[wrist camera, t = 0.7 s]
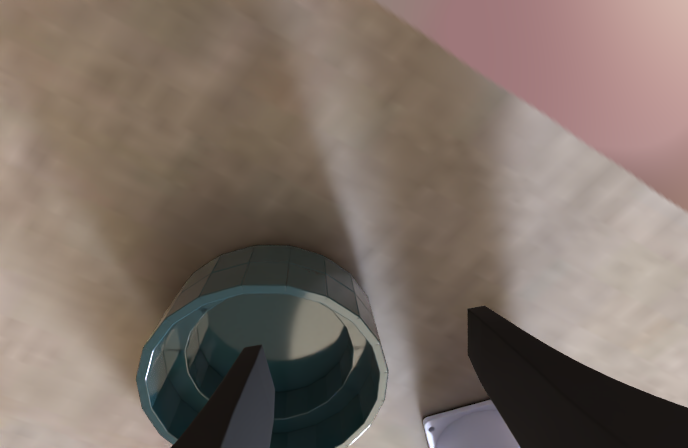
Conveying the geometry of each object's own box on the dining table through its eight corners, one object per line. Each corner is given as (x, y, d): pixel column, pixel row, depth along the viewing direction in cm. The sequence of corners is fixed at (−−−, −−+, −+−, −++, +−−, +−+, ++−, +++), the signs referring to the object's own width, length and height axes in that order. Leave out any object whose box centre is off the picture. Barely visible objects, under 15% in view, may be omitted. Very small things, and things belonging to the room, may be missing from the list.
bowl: (389, 374, 25) (407, 438, 21) (220, 421, 26) (200, 495, 21) (344, 215, 21) (355, 252, 16) (135, 274, 21) (86, 328, 16)
